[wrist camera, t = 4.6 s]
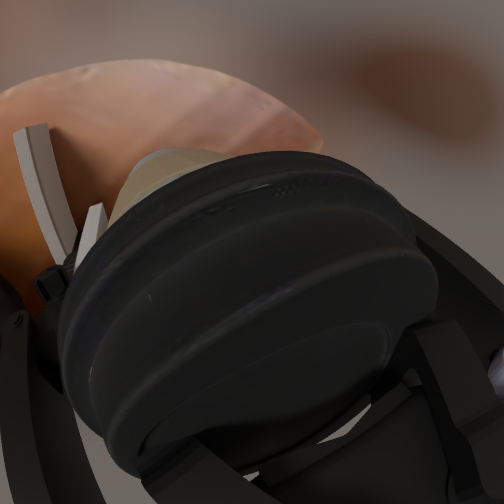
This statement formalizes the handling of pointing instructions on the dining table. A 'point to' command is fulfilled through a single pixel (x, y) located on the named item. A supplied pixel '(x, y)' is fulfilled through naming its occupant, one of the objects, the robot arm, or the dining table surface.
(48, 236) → the gate
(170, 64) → the dining table surface
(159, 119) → the dining table surface
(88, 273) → the coffee cup
